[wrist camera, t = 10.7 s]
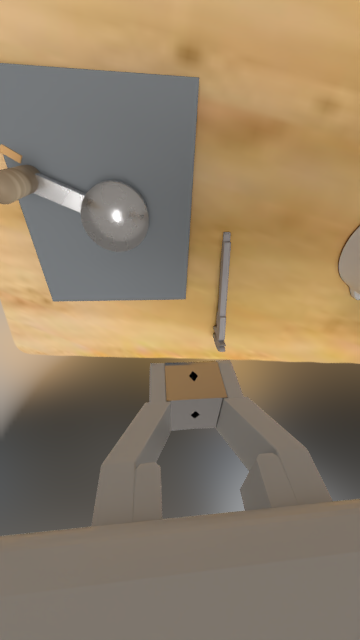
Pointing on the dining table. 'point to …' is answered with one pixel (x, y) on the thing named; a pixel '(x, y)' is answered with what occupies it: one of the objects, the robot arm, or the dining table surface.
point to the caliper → (222, 293)
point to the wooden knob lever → (86, 205)
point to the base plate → (104, 172)
